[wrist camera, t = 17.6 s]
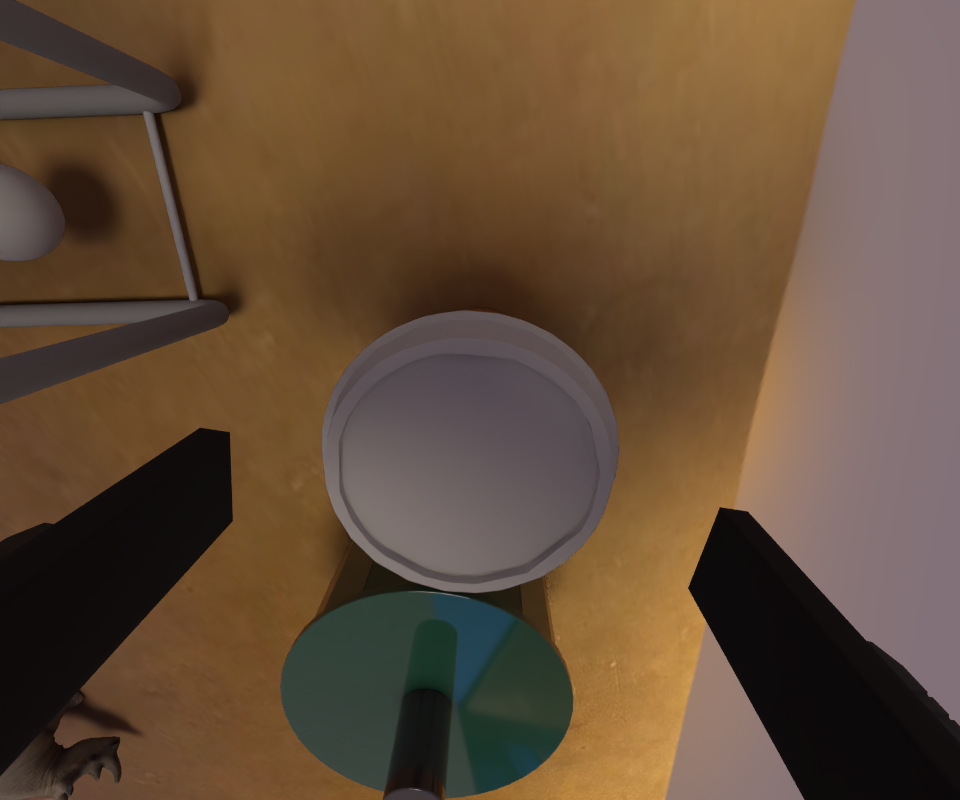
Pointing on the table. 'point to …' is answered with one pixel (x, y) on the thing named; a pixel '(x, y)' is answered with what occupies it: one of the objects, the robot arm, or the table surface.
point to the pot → (367, 574)
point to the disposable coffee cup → (469, 451)
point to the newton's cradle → (40, 220)
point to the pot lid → (427, 692)
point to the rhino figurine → (58, 763)
